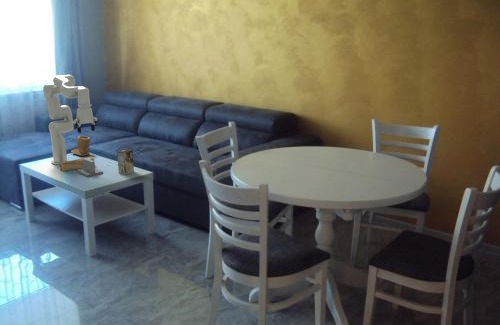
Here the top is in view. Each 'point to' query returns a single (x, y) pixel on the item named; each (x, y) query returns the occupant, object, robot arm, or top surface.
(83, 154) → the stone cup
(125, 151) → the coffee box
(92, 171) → the ridge stand
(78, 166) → the oak batten
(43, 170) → the top surface
